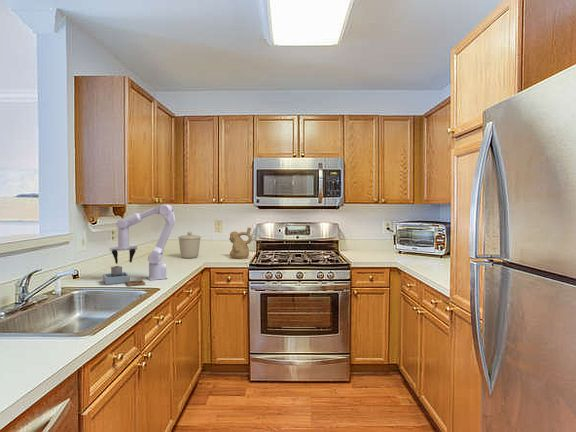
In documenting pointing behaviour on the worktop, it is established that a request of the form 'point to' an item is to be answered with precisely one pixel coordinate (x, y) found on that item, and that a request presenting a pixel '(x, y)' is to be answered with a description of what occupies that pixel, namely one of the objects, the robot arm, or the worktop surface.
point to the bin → (115, 279)
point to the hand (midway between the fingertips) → (123, 262)
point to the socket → (135, 283)
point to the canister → (189, 245)
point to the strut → (116, 271)
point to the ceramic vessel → (240, 244)
